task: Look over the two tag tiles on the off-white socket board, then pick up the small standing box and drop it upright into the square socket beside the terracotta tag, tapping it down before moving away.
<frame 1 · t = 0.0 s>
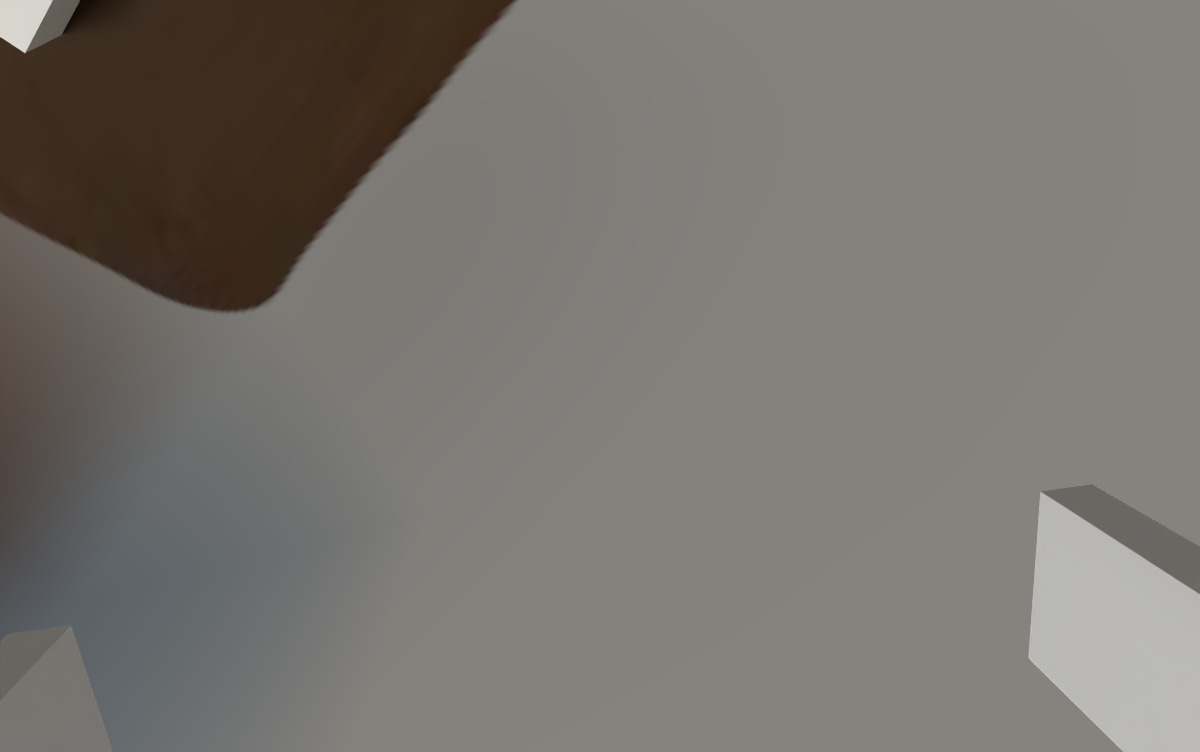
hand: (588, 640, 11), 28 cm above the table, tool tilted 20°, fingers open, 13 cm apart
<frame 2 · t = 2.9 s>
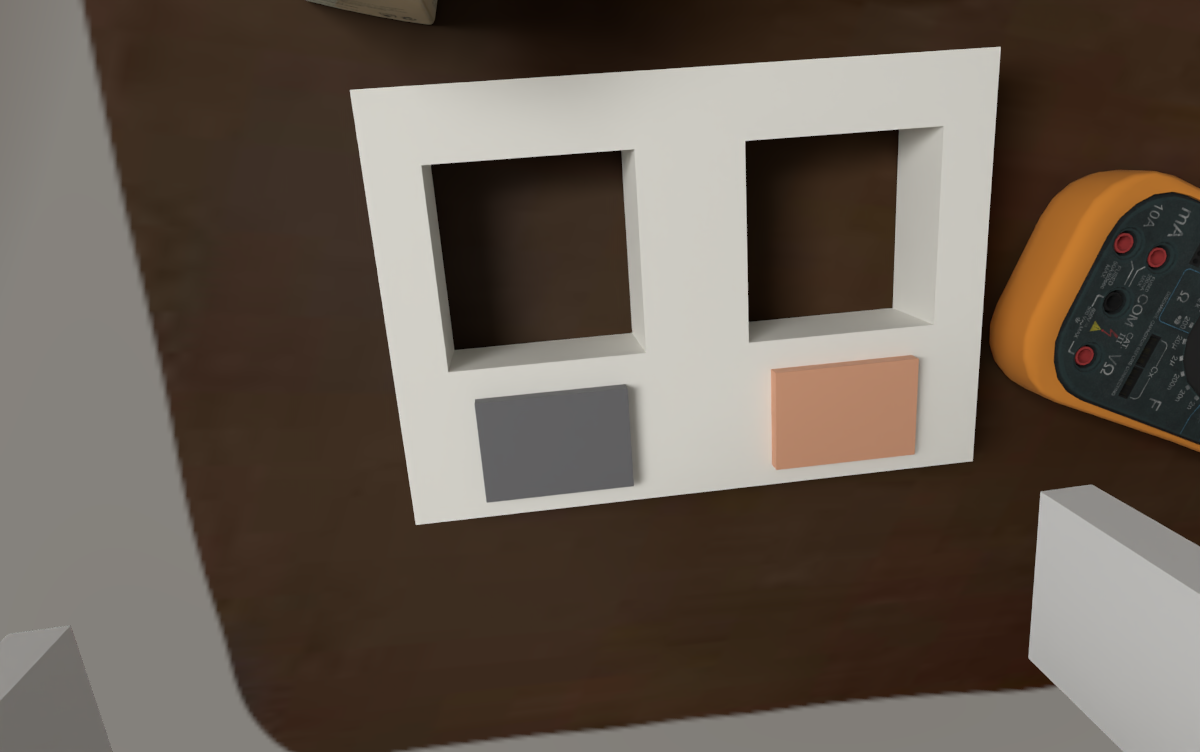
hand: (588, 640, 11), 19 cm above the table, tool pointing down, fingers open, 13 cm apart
socket board: (676, 281, 28), on the table
multimeter: (1182, 332, 32), on the table
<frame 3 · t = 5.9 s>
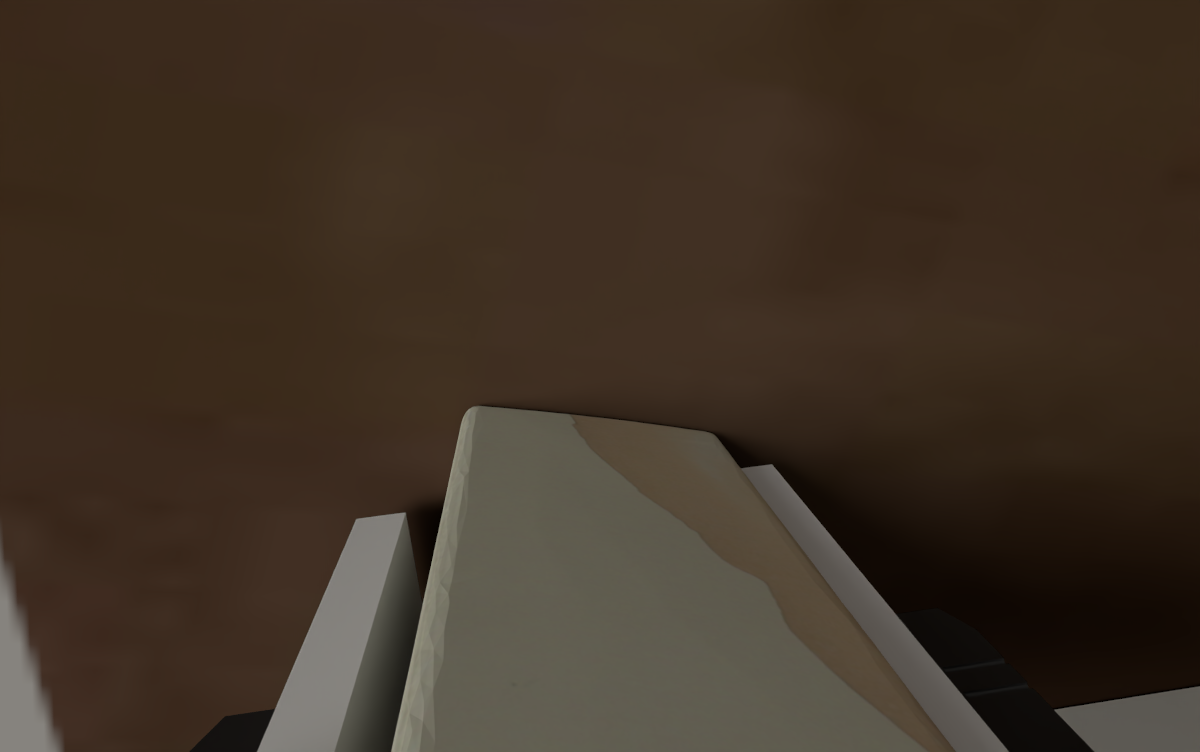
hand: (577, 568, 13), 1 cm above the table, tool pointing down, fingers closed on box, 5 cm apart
box: (571, 540, 14), on the table, touching gripper
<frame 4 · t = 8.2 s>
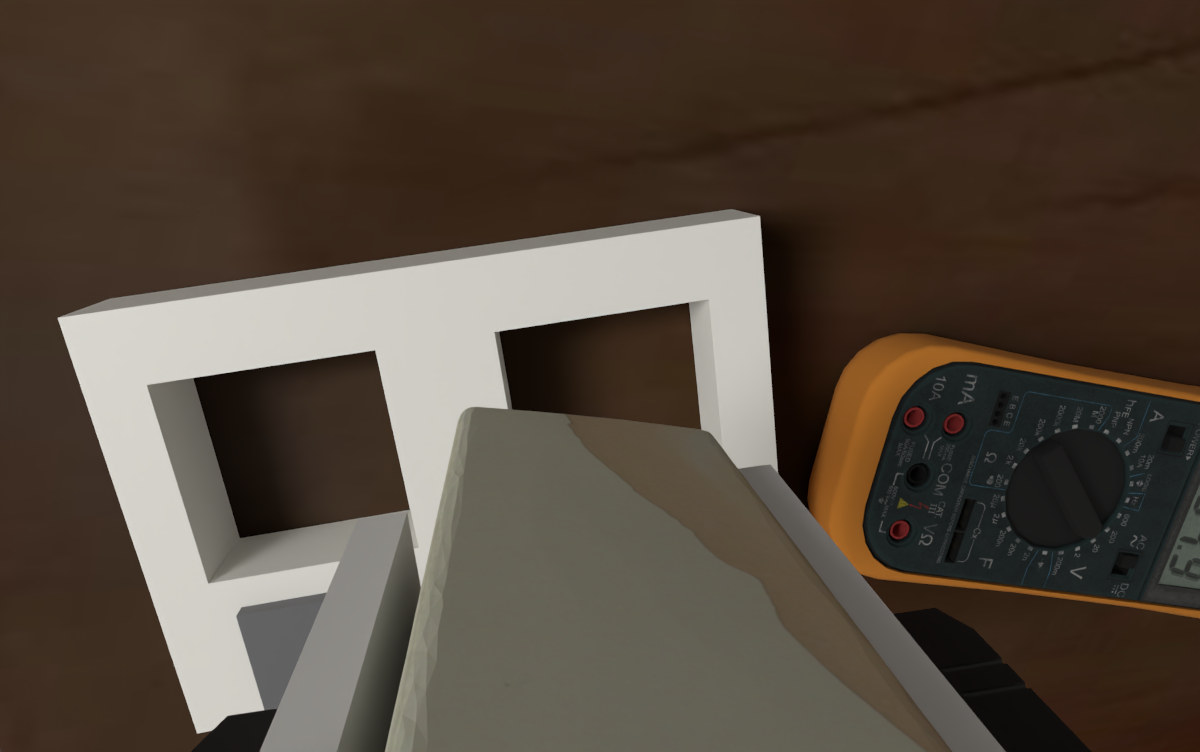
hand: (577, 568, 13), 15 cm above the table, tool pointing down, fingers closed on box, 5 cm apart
socket board: (468, 452, 27), on the table
box: (568, 539, 14), point 14 cm above the table, touching gripper
multimeter: (1024, 458, 30), on the table
when the fingers open (5 cm above the table, at t = 10.6 s): box drops 4 cm, resting in socket board.
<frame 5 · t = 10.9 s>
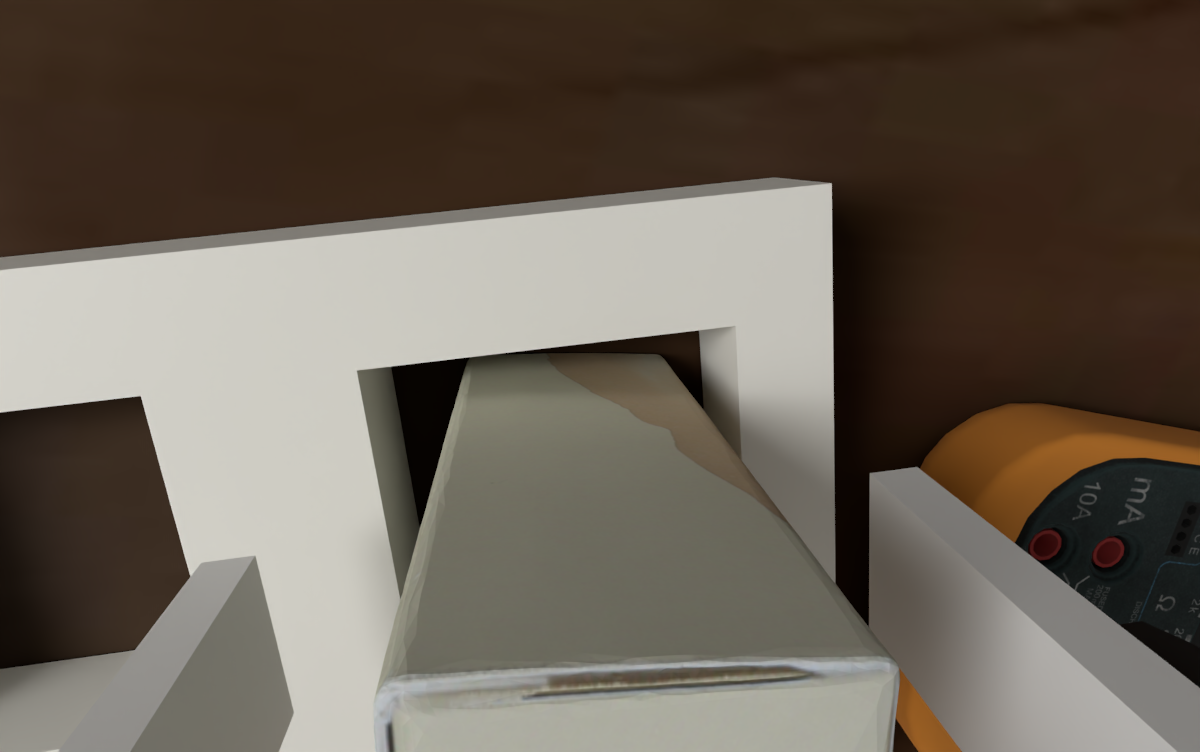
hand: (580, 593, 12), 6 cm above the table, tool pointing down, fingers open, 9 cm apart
socket board: (341, 550, 17), on the table
box: (563, 453, 17), resting in socket board
multimeter: (1185, 574, 21), on the table
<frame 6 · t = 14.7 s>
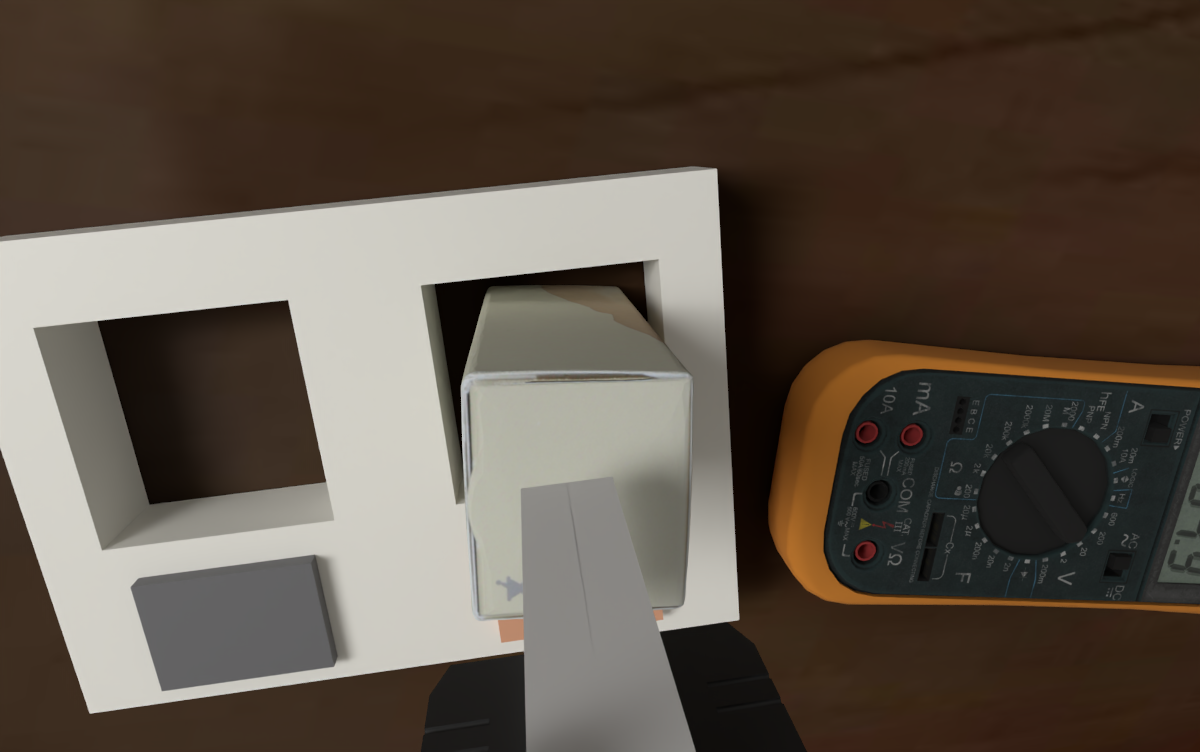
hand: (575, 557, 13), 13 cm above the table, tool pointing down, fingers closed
socket board: (400, 421, 25), on the table
box: (552, 356, 25), resting in socket board
multimeter: (1003, 457, 28), on the table
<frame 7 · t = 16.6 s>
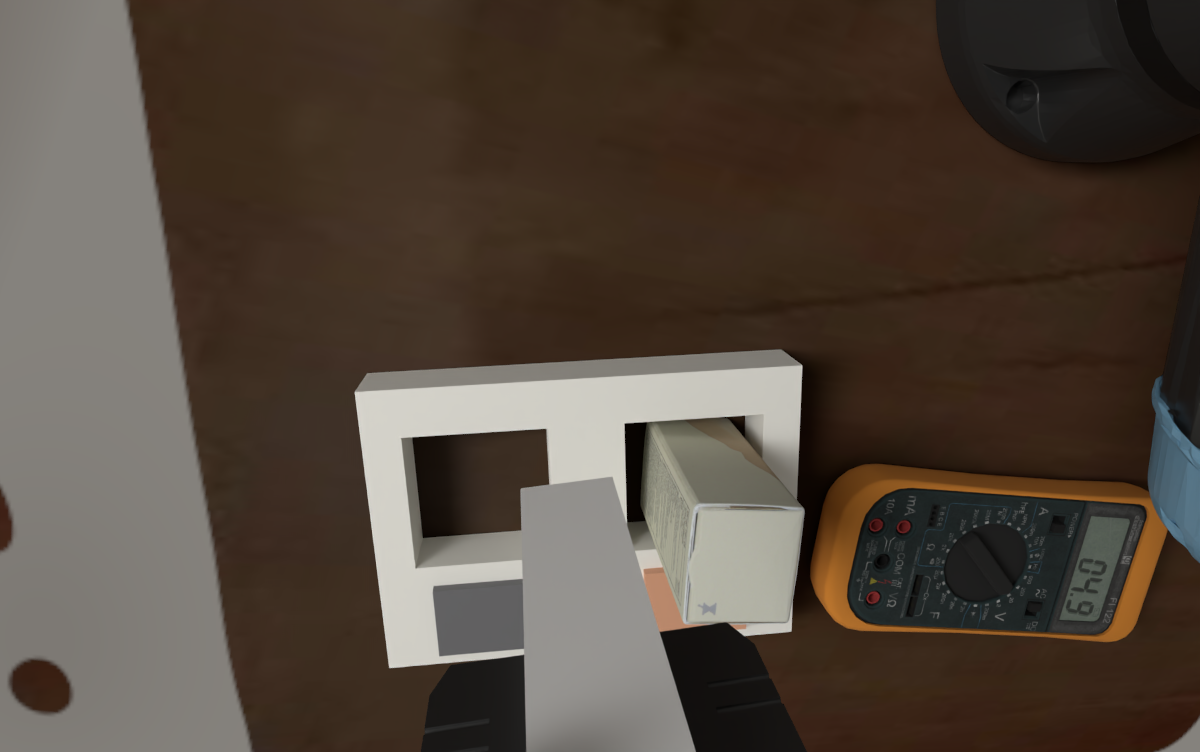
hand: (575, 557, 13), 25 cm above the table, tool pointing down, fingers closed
socket board: (584, 494, 40), on the table
box: (682, 458, 40), resting in socket board
multimeter: (963, 535, 43), on the table
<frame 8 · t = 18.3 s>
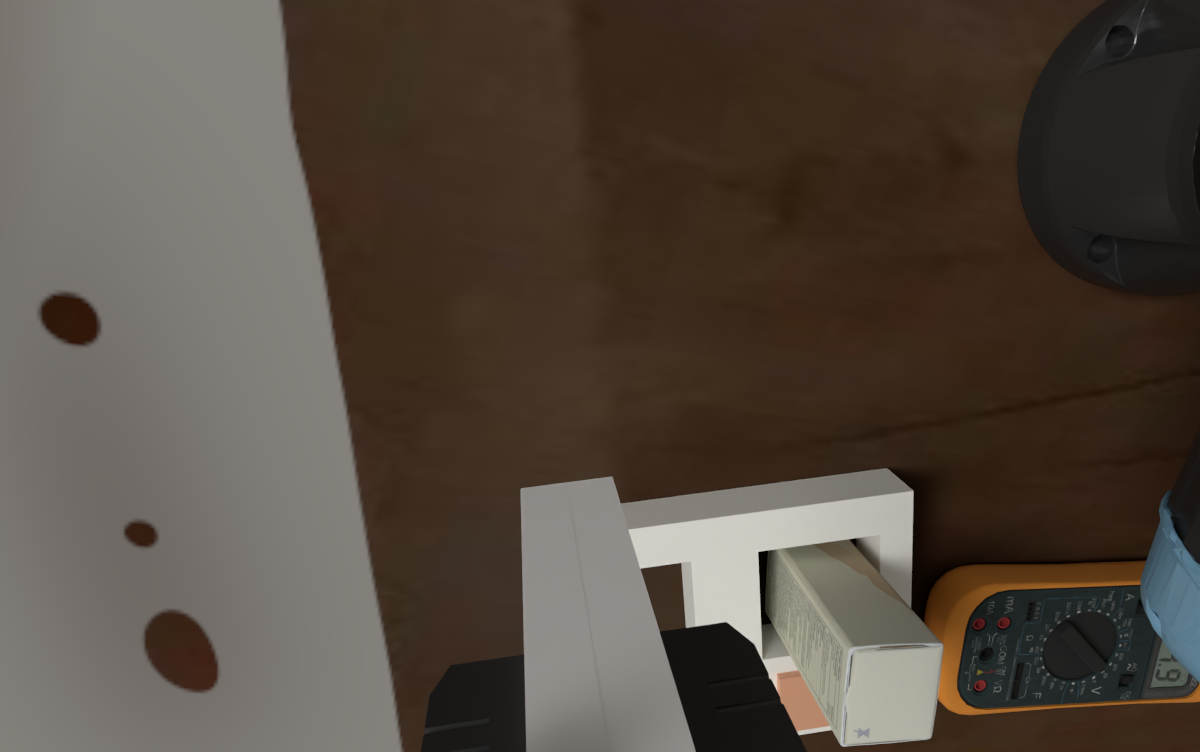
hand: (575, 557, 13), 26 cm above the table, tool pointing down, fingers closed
socket board: (715, 605, 44), on the table
box: (800, 566, 44), resting in socket board
multimeter: (1053, 614, 48), on the table
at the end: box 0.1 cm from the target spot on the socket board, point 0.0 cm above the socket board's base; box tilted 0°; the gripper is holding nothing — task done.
